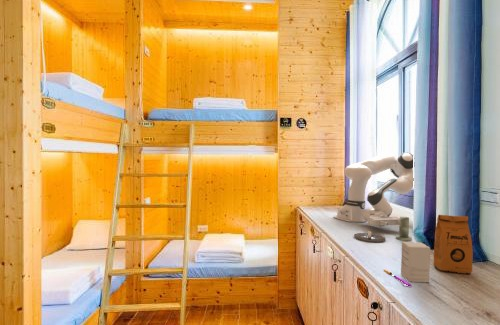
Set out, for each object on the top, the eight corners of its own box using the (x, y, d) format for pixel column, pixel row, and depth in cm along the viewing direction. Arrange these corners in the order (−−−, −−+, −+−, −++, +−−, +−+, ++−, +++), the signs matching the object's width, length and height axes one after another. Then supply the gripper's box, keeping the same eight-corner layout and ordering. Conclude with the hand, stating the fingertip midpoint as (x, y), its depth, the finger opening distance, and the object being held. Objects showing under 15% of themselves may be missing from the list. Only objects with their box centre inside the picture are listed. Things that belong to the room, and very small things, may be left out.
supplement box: (420, 275, 120) (421, 242, 120) (429, 283, 113) (431, 247, 113) (400, 274, 121) (401, 241, 121) (407, 281, 114) (409, 246, 113)
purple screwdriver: (412, 287, 109) (385, 270, 125) (411, 284, 109) (384, 268, 125) (405, 289, 109) (379, 272, 124) (404, 286, 108) (378, 269, 124)
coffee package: (475, 277, 120) (477, 219, 120) (437, 272, 124) (440, 216, 124) (465, 268, 130) (467, 214, 130) (431, 264, 134) (433, 212, 133)
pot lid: (348, 237, 175) (348, 228, 175) (364, 233, 185) (364, 224, 185) (375, 244, 163) (376, 234, 163) (391, 239, 173) (391, 230, 173)
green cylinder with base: (392, 238, 176) (393, 216, 176) (399, 236, 181) (400, 215, 181) (407, 241, 170) (408, 219, 170) (414, 239, 175) (415, 217, 175)
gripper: (395, 223, 200) (410, 228, 186) (365, 224, 196) (378, 229, 182) (395, 213, 199) (410, 218, 186) (365, 214, 196) (378, 218, 182)
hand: (394, 224), depth 184 cm, fingers open, 8 cm apart
